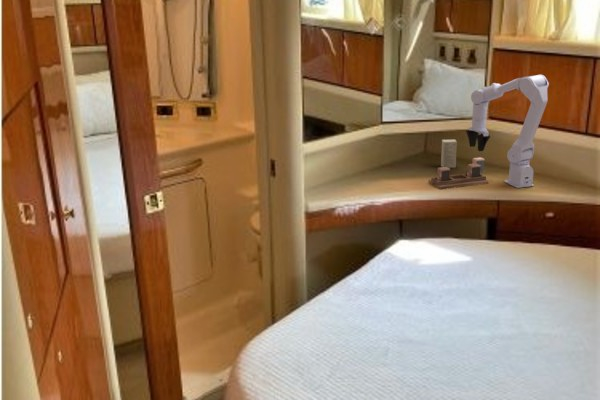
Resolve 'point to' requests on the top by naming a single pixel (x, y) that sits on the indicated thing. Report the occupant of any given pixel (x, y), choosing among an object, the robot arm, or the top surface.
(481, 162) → the rose block
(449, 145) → the skincare box
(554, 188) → the top surface
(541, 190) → the top surface
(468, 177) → the walnut rack
